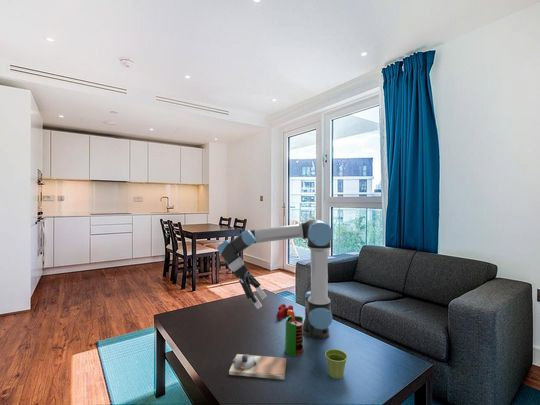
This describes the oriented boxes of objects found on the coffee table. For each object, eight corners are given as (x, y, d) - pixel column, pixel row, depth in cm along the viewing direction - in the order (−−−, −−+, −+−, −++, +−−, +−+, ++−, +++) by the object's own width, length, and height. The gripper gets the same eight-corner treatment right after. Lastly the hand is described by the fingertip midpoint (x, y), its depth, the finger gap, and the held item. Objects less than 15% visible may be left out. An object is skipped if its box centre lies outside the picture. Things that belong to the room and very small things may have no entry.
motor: (302, 357, 133) (302, 316, 132) (283, 355, 134) (283, 314, 134) (303, 346, 143) (304, 307, 142) (286, 344, 144) (286, 306, 144)
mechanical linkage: (283, 310, 188) (283, 302, 188) (293, 312, 185) (293, 304, 185) (273, 319, 174) (273, 311, 173) (283, 321, 171) (283, 313, 170)
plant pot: (331, 365, 127) (331, 346, 126) (350, 373, 121) (350, 354, 120) (321, 375, 119) (321, 355, 119) (341, 384, 113) (341, 364, 113)
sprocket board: (286, 361, 129) (286, 351, 129) (284, 379, 117) (284, 369, 116) (236, 357, 133) (236, 347, 133) (229, 374, 120) (228, 364, 120)
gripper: (239, 266, 156) (260, 297, 154) (225, 278, 131) (251, 316, 129) (249, 258, 155) (271, 290, 153) (238, 269, 130) (264, 307, 128)
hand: (262, 302), depth 141 cm, fingers open, 13 cm apart
